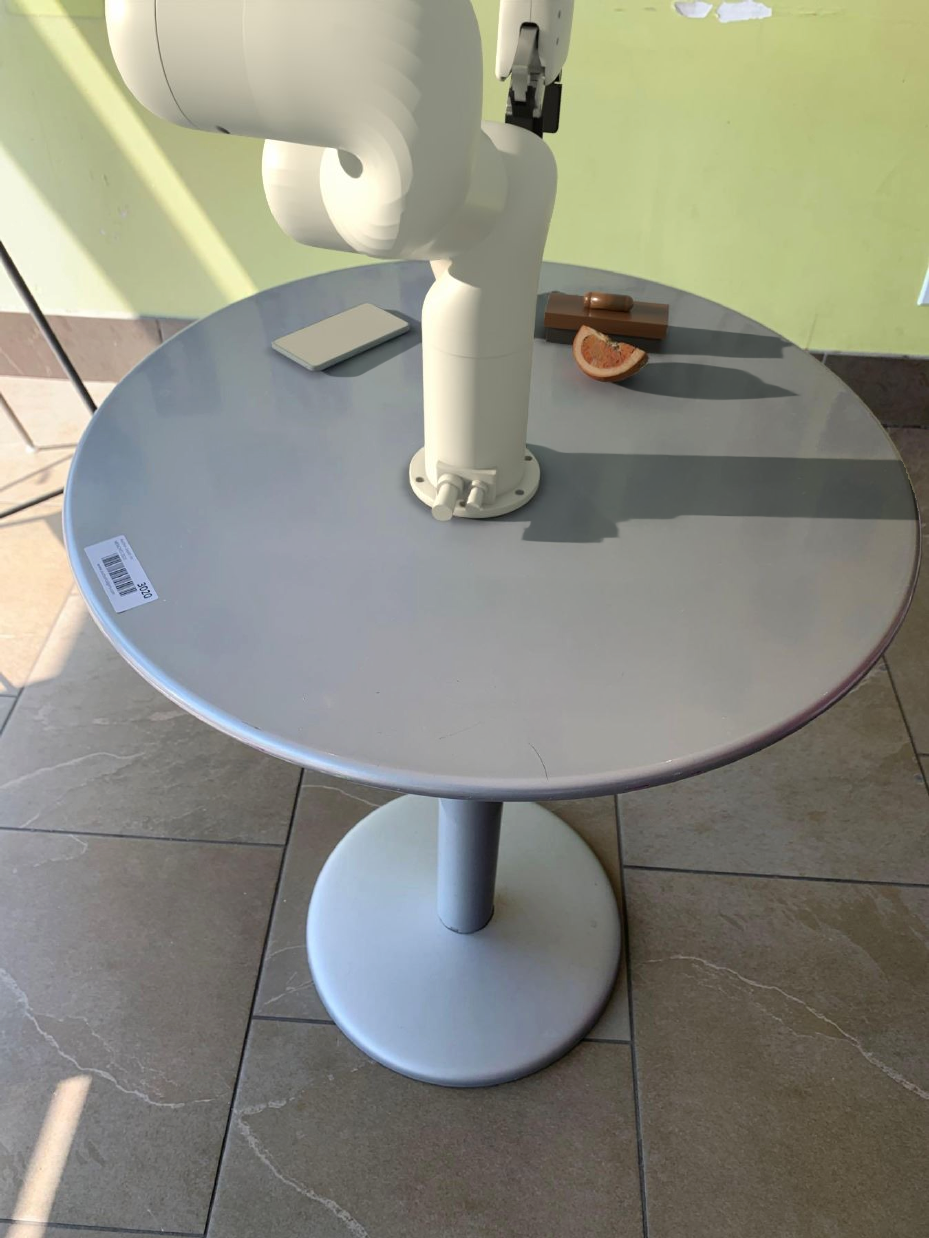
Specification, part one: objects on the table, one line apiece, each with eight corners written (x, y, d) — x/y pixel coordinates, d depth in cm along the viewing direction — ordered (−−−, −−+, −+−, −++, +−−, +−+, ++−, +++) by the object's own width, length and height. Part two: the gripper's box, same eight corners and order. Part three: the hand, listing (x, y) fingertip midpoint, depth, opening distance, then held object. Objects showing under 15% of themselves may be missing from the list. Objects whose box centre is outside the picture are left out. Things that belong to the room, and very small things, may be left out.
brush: (662, 355, 105) (670, 310, 101) (542, 342, 106) (545, 298, 102) (663, 334, 108) (671, 290, 104) (547, 322, 110) (551, 278, 106)
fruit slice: (654, 380, 101) (662, 339, 97) (619, 405, 97) (626, 363, 94) (593, 354, 105) (598, 314, 101) (558, 377, 101) (562, 336, 98)
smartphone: (413, 324, 107) (314, 368, 100) (413, 331, 108) (314, 376, 100) (366, 300, 111) (267, 341, 104) (367, 307, 112) (269, 349, 104)
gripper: (520, -110, 76) (509, 116, 88) (474, -81, 64) (469, 177, 76) (609, -105, 74) (586, 123, 86) (580, -74, 62) (558, 186, 74)
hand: (531, 148), depth 81 cm, fingers open, 9 cm apart
